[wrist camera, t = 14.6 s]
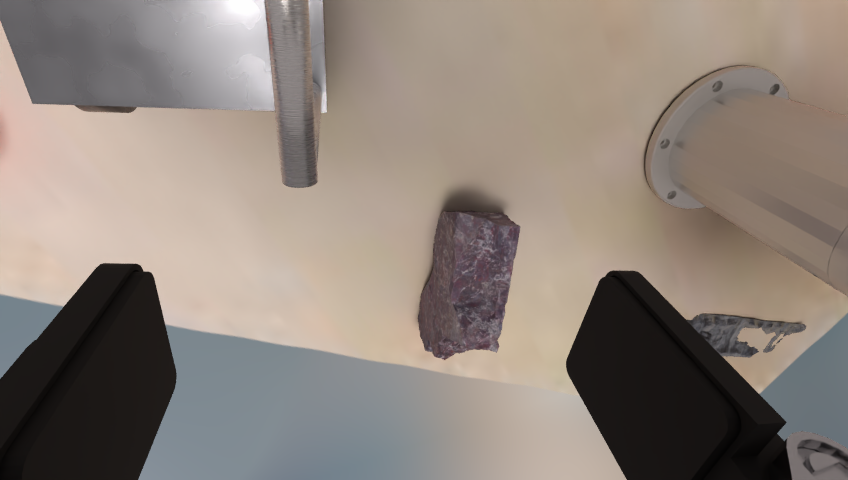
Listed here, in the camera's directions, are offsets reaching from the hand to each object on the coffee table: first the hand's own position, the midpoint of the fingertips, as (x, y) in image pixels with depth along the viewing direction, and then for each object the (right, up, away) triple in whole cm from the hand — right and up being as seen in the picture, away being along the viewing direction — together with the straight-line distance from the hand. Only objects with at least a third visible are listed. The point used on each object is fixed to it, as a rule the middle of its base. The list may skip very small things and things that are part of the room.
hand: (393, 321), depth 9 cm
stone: (+3, 0, +31) cm, 31 cm away
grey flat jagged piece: (+38, -10, +45) cm, 60 cm away
